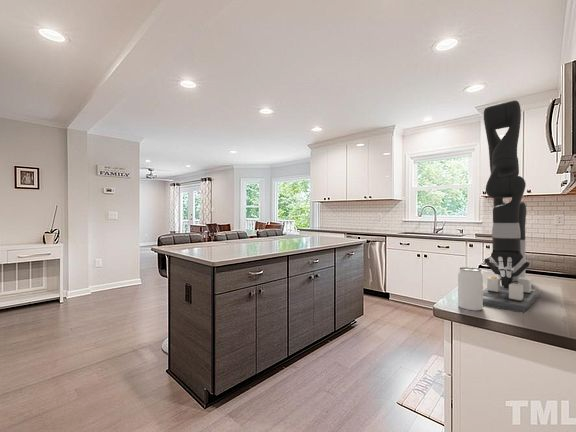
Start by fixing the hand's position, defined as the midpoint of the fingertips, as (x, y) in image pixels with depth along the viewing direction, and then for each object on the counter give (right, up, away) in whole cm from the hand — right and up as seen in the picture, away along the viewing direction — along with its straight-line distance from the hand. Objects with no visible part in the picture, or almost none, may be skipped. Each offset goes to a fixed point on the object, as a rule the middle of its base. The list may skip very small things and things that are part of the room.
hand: (507, 287), depth 97 cm
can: (-17, -4, -8) cm, 19 cm away
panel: (0, -4, 0) cm, 4 cm away
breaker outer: (-2, -2, -7) cm, 7 cm away
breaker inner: (+7, -1, +1) cm, 7 cm away
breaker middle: (-3, -1, +3) cm, 4 cm away
